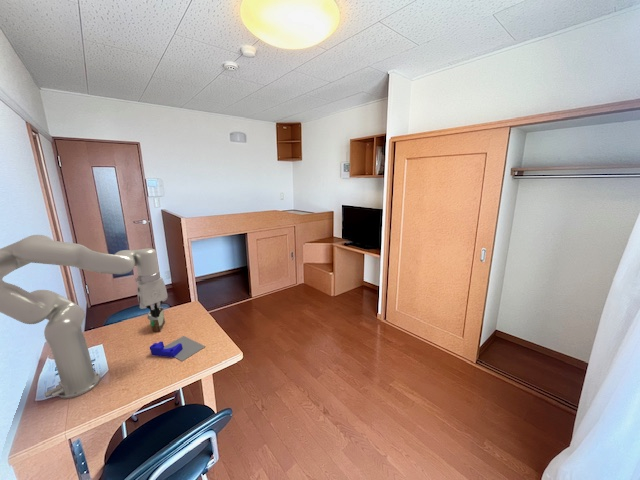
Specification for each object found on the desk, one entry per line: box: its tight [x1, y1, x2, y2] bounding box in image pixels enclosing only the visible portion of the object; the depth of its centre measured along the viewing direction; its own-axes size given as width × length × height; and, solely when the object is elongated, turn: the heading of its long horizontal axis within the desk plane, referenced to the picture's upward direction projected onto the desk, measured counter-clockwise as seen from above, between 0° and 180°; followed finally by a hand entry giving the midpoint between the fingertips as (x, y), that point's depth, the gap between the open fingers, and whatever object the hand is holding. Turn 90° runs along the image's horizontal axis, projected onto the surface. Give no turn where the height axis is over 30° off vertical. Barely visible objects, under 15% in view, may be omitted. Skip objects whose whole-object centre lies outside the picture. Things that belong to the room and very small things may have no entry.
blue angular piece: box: [149, 341, 183, 358], centre depth 122 cm, size 12×4×6 cm
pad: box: [164, 335, 206, 362], centre depth 126 cm, size 12×18×1 cm, turn 59°
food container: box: [147, 306, 166, 333], centre depth 142 cm, size 12×6×10 cm, turn 17°
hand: (155, 316), depth 114 cm, fingers closed
